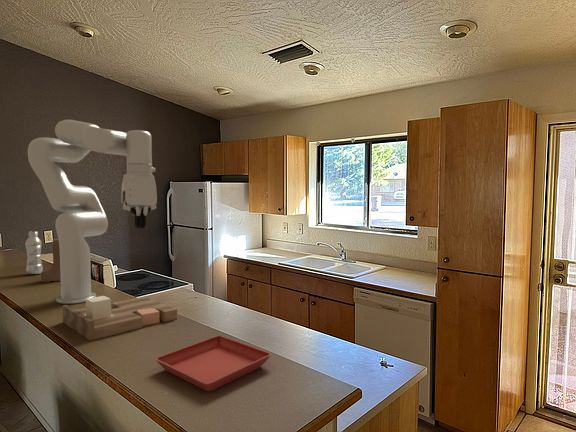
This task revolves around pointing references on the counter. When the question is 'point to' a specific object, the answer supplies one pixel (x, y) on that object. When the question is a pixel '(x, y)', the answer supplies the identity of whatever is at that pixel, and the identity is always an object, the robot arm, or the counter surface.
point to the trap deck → (115, 318)
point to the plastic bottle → (33, 254)
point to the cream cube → (98, 307)
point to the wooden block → (54, 271)
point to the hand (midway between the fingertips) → (140, 227)
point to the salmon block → (149, 316)
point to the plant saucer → (213, 362)
